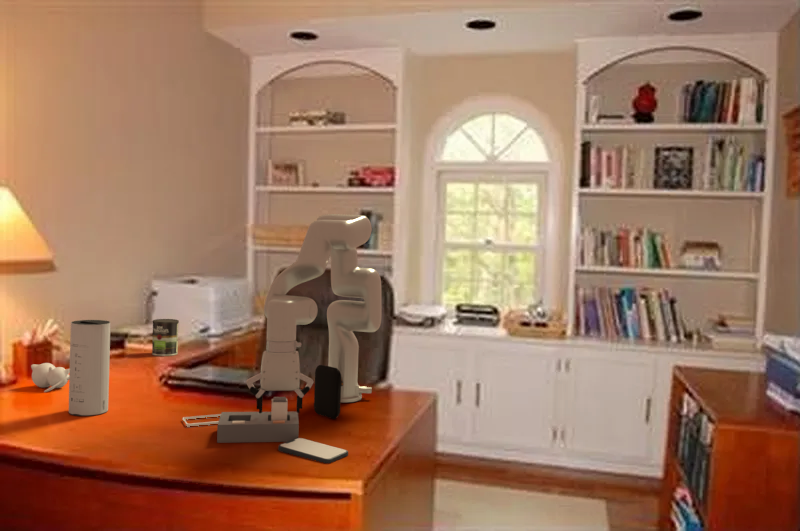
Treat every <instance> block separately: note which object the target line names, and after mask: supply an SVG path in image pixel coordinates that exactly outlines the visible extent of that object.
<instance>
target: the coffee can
mask: <svg viewBox="0 0 800 531" xmlns="http://www.w3.org/2000/svg"><path fill="white" fill-rule="evenodd" d="M179 320H180V319H179ZM179 320H178V319H173V318H157V319H153V320H152V340H151V341H152V342H151V343H152V345H151V346H152V347H151V348H152V350H151V355H152V356H156V357H170V356H171V357H172V356H173V357H174V356H176V355H177V356H178V348H179V346H178V344H179V323H180V322H179Z"/></svg>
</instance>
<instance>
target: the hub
mask: <svg viewBox="0 0 800 531" xmlns="http://www.w3.org/2000/svg"><path fill="white" fill-rule="evenodd" d="M220 414H221V416H220V417H219V419H218V421H219V422H218V425H216V426H217V430H216V431H217V433H216V434H217V435H216V438H217V439H216V444H217V443H218V444H220V443H224V444H225V443H226V444H227V443H229V444H230V443H274V442H275V443H280V442H281V443H285V442H288V441H291V440H294V439H297V438H299V433H300V432H299V428H300V426H299V424H300V423H299V413H297V411H287V421H285V420H273V421H271V411H262V413H259V411H221V413H220Z"/></svg>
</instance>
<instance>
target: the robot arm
mask: <svg viewBox="0 0 800 531" xmlns="http://www.w3.org/2000/svg"><path fill="white" fill-rule="evenodd" d="M372 229H373V226H372V223H371V221H370V219H369V218H368V217H367V216H366V215H358V214H339V213H338V214H334V213H332V214H322V215H320V216H318V218H317V219H316V220H314V221H313V222H311V223H310V224H309V225H308V228H307V231H306V233H305V236H304V239H303V241H302V245H301V247H300V249H299V253H298V256H297V259H296V261H295V262H293V263H292V264H290V265H289V266H287V267H286V268H285V269H284V270H282V271H281V273H279V274H277V276H276V277H275V278H274V279H273V281H272V283H271V285H270V287H269V290H268V292H267V295H266V297H265V301H264V304H263V305H264V306H263V313H264V316H265V318H266V350H263V352H262V357H261V363H260V364H261V366H260V373H257V374H256V375H254V376H251V377H249V378H248V379H246V381H245V384H246V385H247V387H248V389H249V391H250V392H251V393H252V394H253V395H254V396H255V398H256V410H258V412H259V413H262V412H263V394H264V393H265V392H266V391H267V392H287V391H288V392H293V391H294V392H295V393H296V412H297V413H298V414H300V410H301V409H303V398H304V396H305V395H306V394H307V393H309V391H310V390H311V388H312V386H314V385H313V384H315V379H313V378H311V377H310V376H307V375H305V374H303V373H302V372H301V365H300V362H301V361H300V354H299V350H297V349H300V348H302V342H299V341H297V326H299V325H302V326H303V325H304V326H306V325H308V324H311V323H312V322H314V321H315V319H316V317H317V316H318V312H319V311H318V305H317V303H316V301H315V300H314V299H313V298H310V297H307V296H297V295H290V294H289V295H287V293H289V291H291V290H292V289H293V288H294V287H296V286H298V285H300V284H303V283H305V282H309V281H311V280H313V279H316V278H319V277H321V276H322V275H323V274H324V273H326V269H327V266H328V262H329V260H330V284H331V291H332V293H333V294H334V295H336V296H338V297H343V298H354V299H357V298H359V299H363V301H358V300H349V299H339V300H335V301H332V302H331V303H330V304H329V305H328V307H327V308H326V309H327V311H326V319H327V320H326V321H327V326H328V365H327V366H330V367H334V368H337V369H338V370H339V371H340V373H341V376H342V380H343V386H341V400H340V404H342V403H346V404H347V403H355V402H358V401H361V400H362V397H363V395H362V394H372V391H373V390H372V388H373V387H371V386H370V387H369V386H368V387H367V385H365V386H360V385H359V383H358V375H359V374H358V372H359V350H360V349H359V348H360V346H359V342H358V341H359V340H358V339H357V337H356V335H355V333H354V332H361V333H362V332H364V333H375V332H376V331H378V330H379V329H380V327H381V324H382V309H383V308H382V281H381V280H382V279H381V276H380V274H379V272H378V270H376V269H375V268H371V267H370V268H369V267H359V263H358V250H357V248H358V247H360V246H362V245H364V244H366V242H367V243H368V241H369V240H370V238H371V235H372V232H373V231H372ZM257 381H260V384H259V386H260V387H259V388H258V389H257V388H256V386H255V385H254V384H253V383H255V382H257ZM301 381H304V382H305V383H306V385H305V386H304V387H303V388H302V389H301V388H300V384H301Z"/></svg>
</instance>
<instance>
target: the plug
mask: <svg viewBox="0 0 800 531" xmlns="http://www.w3.org/2000/svg"><path fill="white" fill-rule="evenodd" d="M270 412H271V421H273V420H285V421H287V412H288V398H287V397H286V396H273V398H271V411H270Z"/></svg>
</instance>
